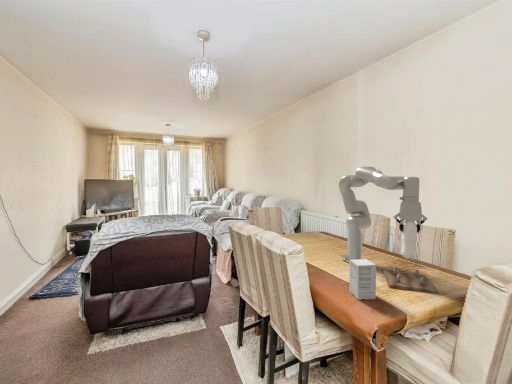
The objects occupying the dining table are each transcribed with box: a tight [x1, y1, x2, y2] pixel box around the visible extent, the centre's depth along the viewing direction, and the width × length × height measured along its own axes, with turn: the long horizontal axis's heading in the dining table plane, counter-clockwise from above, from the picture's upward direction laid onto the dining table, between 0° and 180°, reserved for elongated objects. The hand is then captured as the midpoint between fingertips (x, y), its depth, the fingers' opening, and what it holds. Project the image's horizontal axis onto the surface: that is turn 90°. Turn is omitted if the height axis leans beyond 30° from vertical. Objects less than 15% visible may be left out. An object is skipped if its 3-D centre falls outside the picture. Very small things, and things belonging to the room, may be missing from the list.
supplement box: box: [348, 258, 377, 301], centre depth 125 cm, size 10×9×17 cm
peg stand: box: [382, 266, 439, 295], centre depth 140 cm, size 22×22×6 cm
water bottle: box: [400, 220, 418, 260], centre depth 139 cm, size 7×7×25 cm
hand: (409, 231), depth 138 cm, fingers closed on water bottle, 7 cm apart
